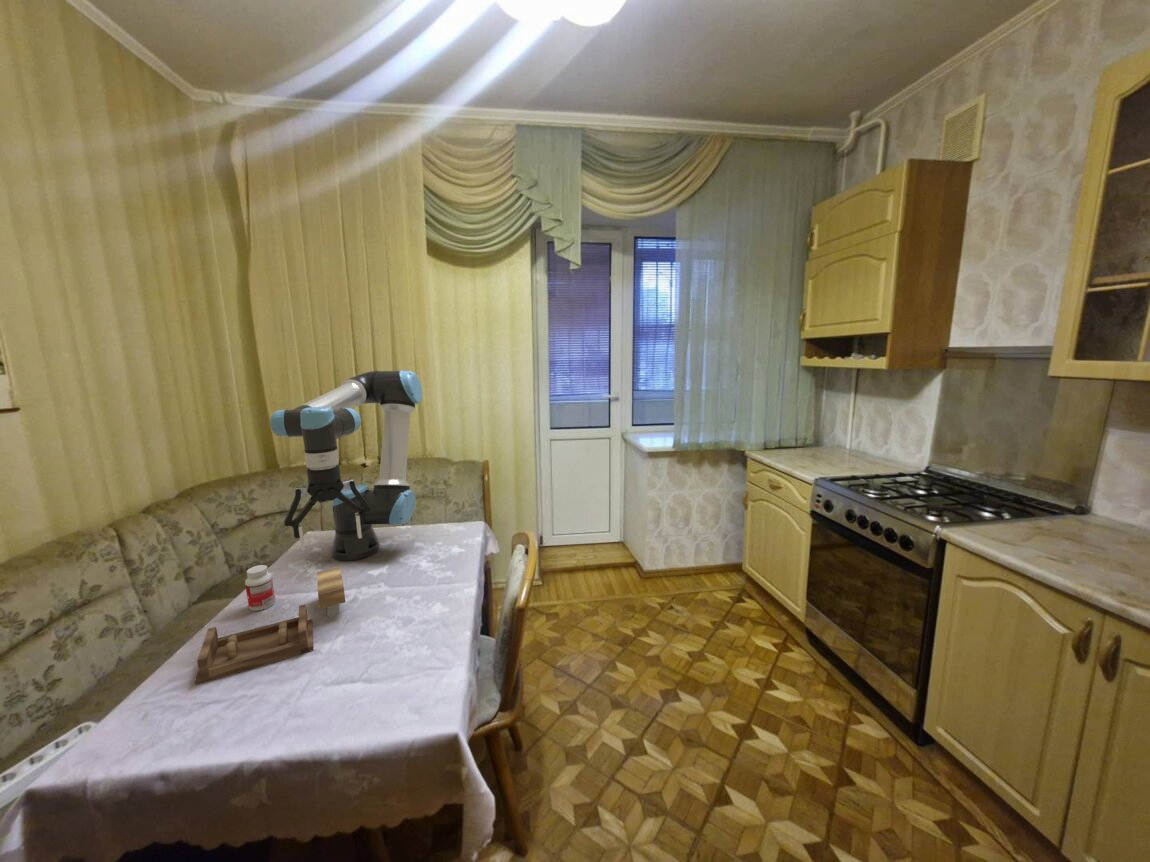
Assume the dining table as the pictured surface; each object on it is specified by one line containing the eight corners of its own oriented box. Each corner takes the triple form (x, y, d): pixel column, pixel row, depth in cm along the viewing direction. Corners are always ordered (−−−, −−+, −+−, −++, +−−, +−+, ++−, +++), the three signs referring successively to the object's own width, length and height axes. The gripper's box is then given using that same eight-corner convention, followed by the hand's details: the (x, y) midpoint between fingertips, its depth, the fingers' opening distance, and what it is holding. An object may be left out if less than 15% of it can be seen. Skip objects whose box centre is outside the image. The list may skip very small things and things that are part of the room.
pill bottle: (254, 601, 130) (249, 565, 128) (278, 598, 131) (273, 562, 129) (245, 613, 124) (239, 575, 122) (270, 610, 125) (265, 572, 123)
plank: (318, 585, 130) (316, 572, 130) (341, 579, 133) (340, 566, 133) (319, 608, 118) (317, 594, 118) (345, 602, 121) (343, 588, 121)
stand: (326, 599, 130) (324, 586, 129) (337, 596, 132) (336, 584, 131) (328, 617, 122) (326, 603, 121) (339, 614, 123) (338, 600, 122)
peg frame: (206, 650, 109) (202, 630, 108) (312, 622, 120) (310, 603, 119) (195, 685, 98) (191, 662, 97) (313, 650, 108) (310, 629, 107)
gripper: (265, 477, 110) (277, 559, 114) (376, 462, 123) (383, 536, 127) (266, 470, 116) (277, 548, 120) (372, 456, 129) (379, 527, 133)
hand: (332, 542), depth 123 cm, fingers open, 13 cm apart
